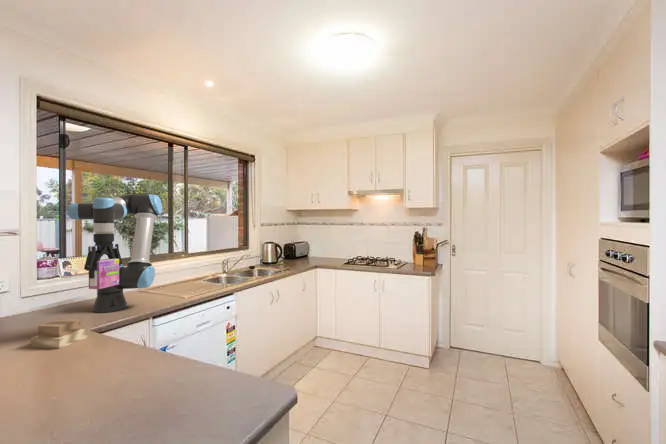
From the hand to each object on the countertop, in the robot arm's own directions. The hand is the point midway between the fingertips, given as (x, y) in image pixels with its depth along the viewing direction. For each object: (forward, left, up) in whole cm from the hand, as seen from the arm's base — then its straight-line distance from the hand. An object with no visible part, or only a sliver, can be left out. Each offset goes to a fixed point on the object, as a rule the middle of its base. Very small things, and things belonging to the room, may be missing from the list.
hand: (104, 283), depth 147 cm
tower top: (+17, -4, -16) cm, 24 cm away
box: (0, 0, -2) cm, 2 cm away
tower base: (+17, -4, -20) cm, 27 cm away
